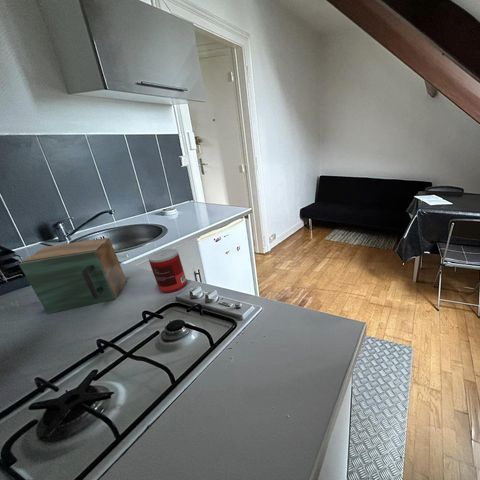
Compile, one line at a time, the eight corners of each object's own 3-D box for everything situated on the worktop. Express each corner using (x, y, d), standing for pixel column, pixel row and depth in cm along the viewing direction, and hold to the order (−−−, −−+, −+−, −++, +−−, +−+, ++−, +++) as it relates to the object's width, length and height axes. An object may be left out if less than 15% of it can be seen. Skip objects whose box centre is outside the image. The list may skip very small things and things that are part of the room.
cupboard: (116, 298, 76) (95, 249, 70) (49, 312, 71) (21, 261, 65) (127, 281, 84) (109, 237, 78) (68, 293, 80) (44, 247, 74)
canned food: (182, 277, 85) (172, 246, 81) (191, 285, 80) (181, 253, 76) (156, 286, 80) (144, 254, 76) (163, 296, 75) (152, 263, 71)
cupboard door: (109, 307, 71) (86, 258, 65) (37, 323, 67) (6, 271, 61) (115, 298, 76) (95, 250, 70) (48, 312, 71) (20, 262, 65)
